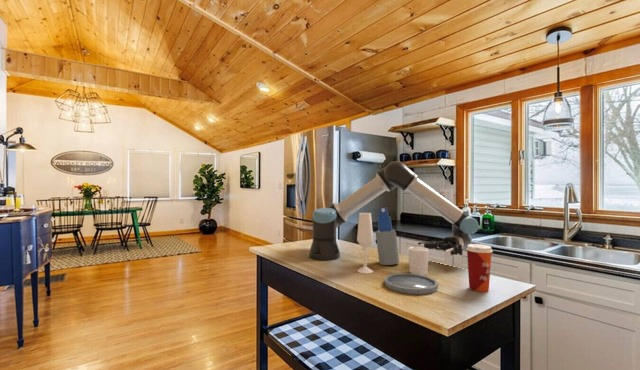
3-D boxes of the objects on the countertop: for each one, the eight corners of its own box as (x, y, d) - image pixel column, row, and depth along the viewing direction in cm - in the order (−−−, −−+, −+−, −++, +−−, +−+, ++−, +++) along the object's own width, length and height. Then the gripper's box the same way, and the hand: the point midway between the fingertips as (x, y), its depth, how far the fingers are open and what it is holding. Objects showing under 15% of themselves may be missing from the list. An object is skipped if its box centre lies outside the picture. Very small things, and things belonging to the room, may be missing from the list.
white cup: (430, 276, 124) (430, 251, 124) (409, 275, 126) (409, 250, 125) (427, 271, 132) (427, 247, 132) (407, 269, 133) (407, 246, 133)
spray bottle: (399, 264, 138) (392, 207, 139) (378, 265, 140) (372, 209, 141) (399, 259, 146) (392, 205, 147) (379, 261, 148) (373, 207, 149)
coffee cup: (490, 295, 104) (490, 249, 104) (463, 290, 109) (463, 246, 109) (494, 288, 111) (494, 245, 110) (468, 283, 116) (469, 242, 115)
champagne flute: (361, 267, 136) (361, 212, 136) (375, 270, 132) (376, 213, 132) (353, 271, 131) (354, 213, 130) (368, 274, 127) (369, 214, 126)
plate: (377, 279, 120) (377, 275, 120) (419, 276, 124) (419, 271, 124) (400, 296, 102) (400, 291, 102) (448, 292, 107) (448, 286, 107)
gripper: (479, 256, 141) (460, 265, 126) (427, 248, 159) (404, 255, 144) (479, 239, 141) (460, 246, 126) (427, 233, 159) (404, 238, 144)
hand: (430, 251), depth 135 cm, fingers open, 13 cm apart
